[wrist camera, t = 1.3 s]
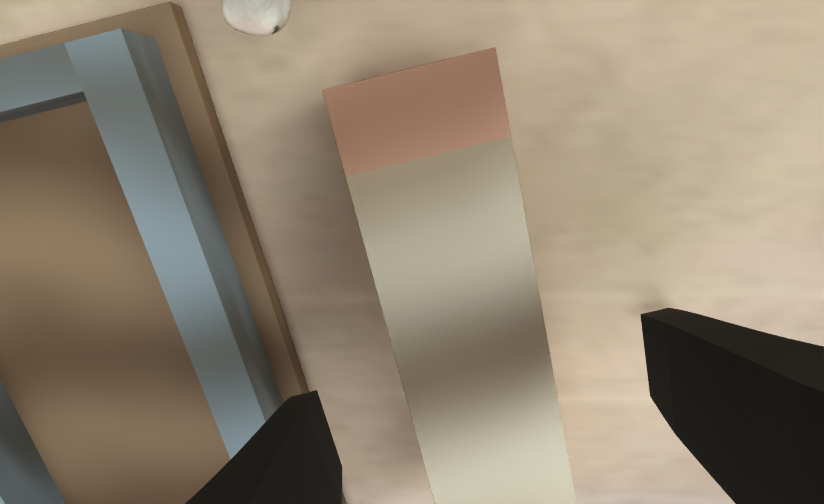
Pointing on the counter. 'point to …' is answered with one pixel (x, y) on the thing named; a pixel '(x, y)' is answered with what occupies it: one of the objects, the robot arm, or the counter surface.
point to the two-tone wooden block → (456, 276)
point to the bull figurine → (256, 15)
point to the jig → (126, 272)
